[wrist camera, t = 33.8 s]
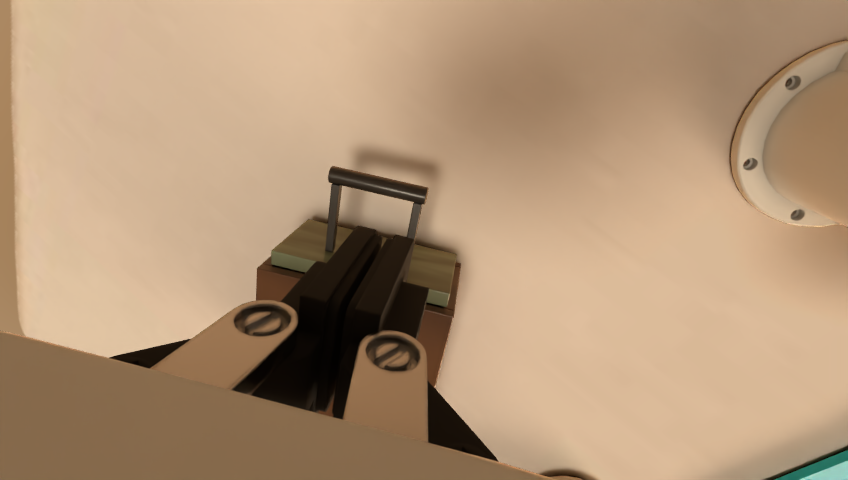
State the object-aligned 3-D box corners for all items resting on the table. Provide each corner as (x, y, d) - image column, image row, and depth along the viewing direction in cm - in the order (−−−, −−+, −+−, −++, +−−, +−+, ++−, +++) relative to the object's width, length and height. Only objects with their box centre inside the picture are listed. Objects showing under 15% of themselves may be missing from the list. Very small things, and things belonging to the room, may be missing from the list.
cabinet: (304, 225, 38) (256, 268, 30) (461, 263, 37) (453, 316, 29) (294, 358, 44) (252, 422, 36) (427, 393, 43) (414, 465, 35)
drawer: (314, 144, 34) (274, 162, 28) (475, 181, 33) (471, 208, 27) (297, 348, 42) (264, 397, 36) (425, 381, 42) (414, 436, 35)
